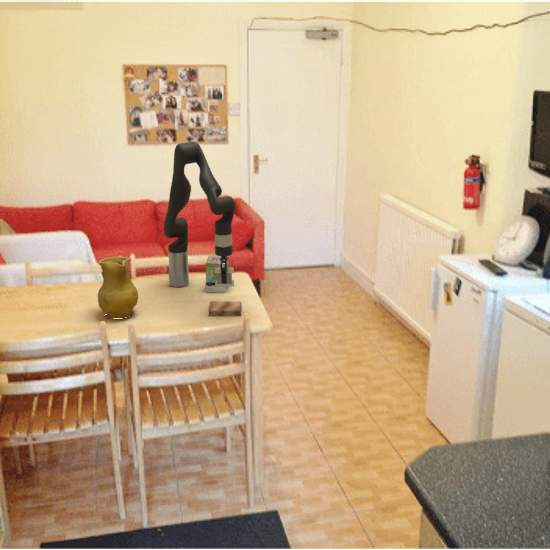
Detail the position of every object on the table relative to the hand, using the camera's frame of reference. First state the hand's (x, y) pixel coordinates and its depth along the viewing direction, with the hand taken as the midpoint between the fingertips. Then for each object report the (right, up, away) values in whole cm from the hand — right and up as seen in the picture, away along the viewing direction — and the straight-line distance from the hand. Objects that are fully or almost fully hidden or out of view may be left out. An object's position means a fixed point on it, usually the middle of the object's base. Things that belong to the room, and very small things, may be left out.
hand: (224, 281), depth 295 cm
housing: (0, -1, 0) cm, 1 cm away
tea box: (-6, -4, +34) cm, 34 cm away
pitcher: (-46, -14, +1) cm, 48 cm away
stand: (0, -13, +4) cm, 14 cm away
